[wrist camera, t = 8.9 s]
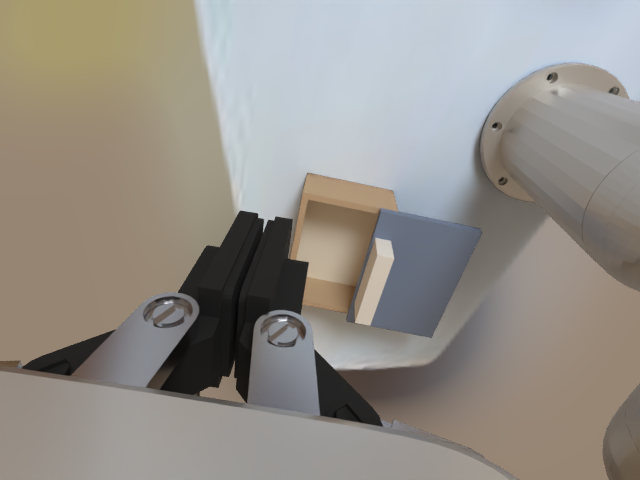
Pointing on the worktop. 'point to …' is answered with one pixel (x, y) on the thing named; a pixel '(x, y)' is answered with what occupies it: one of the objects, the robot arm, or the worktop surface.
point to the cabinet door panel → (410, 272)
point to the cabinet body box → (336, 237)
